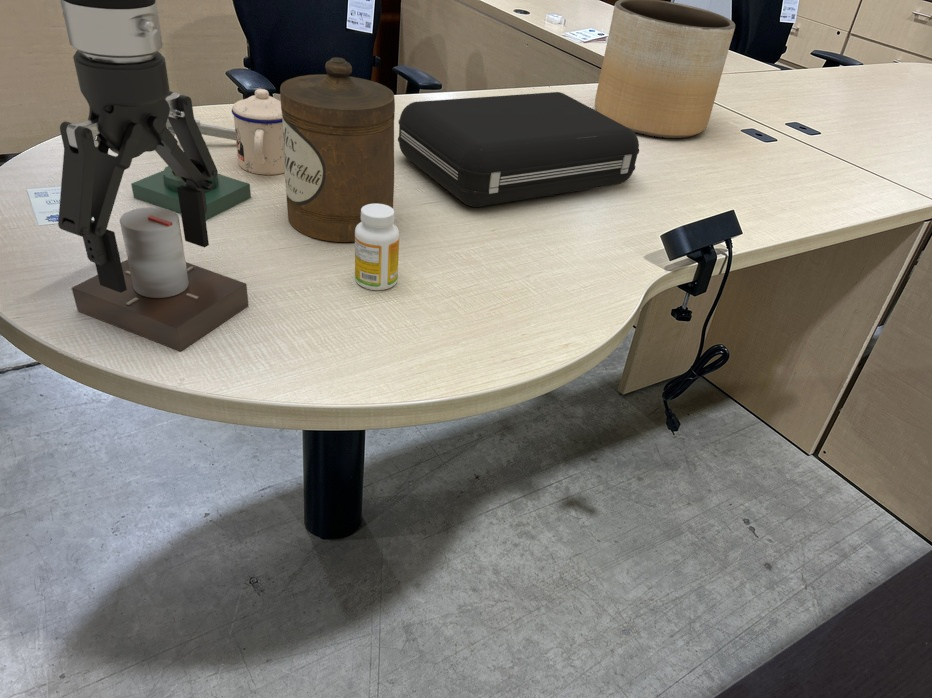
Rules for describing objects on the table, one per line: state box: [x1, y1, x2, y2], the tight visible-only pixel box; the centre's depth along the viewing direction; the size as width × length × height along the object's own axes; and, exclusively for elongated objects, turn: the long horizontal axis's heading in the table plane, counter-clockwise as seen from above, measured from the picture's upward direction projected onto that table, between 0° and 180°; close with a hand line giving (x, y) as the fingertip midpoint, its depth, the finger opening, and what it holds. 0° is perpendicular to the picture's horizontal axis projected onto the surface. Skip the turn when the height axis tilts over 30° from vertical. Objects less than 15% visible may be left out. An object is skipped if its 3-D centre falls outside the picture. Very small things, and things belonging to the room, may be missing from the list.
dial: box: [119, 206, 189, 298], centre depth 79 cm, size 6×6×8 cm
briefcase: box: [397, 91, 640, 208], centre depth 128 cm, size 36×32×10 cm
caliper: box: [166, 119, 236, 141], centre depth 119 cm, size 20×1×6 cm, turn 110°
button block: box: [130, 165, 252, 221], centre depth 104 cm, size 12×10×4 cm
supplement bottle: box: [354, 204, 400, 291], centre depth 91 cm, size 5×5×10 cm
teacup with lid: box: [231, 88, 285, 176], centre depth 113 cm, size 12×9×12 cm
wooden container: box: [279, 56, 396, 243], centre depth 99 cm, size 15×15×22 cm
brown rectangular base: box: [71, 258, 249, 352], centre depth 82 cm, size 14×11×3 cm
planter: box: [594, 0, 736, 139], centre depth 157 cm, size 25×25×22 cm
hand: (157, 264), depth 80 cm, fingers open, 11 cm apart
